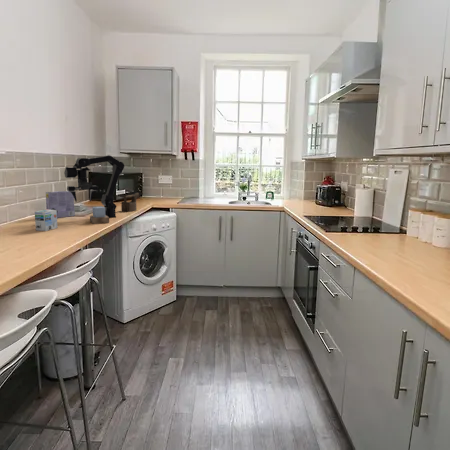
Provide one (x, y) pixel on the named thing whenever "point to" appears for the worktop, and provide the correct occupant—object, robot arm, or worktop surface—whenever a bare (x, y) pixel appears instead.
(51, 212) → the light bulb box
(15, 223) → the worktop surface
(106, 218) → the walnut block
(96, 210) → the slate-blue cube
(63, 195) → the cake pan box
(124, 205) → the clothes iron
